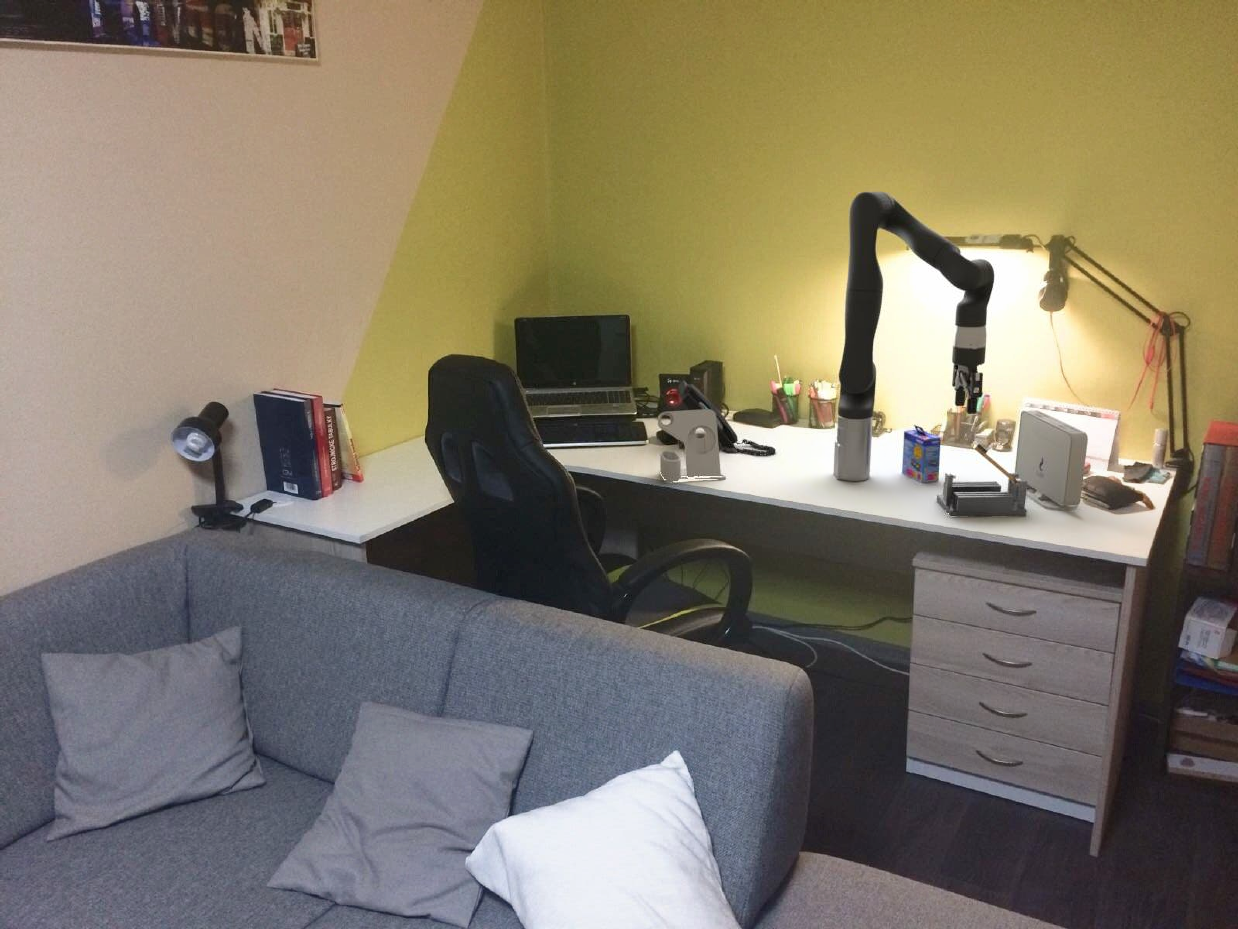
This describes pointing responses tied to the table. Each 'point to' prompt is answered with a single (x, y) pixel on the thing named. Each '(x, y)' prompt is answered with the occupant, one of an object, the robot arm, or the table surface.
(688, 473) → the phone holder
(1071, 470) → the network device
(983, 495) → the heatsink
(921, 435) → the ink cartridge box
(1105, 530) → the table surface
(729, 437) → the office phone
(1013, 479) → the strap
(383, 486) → the table surface
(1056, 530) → the table surface
